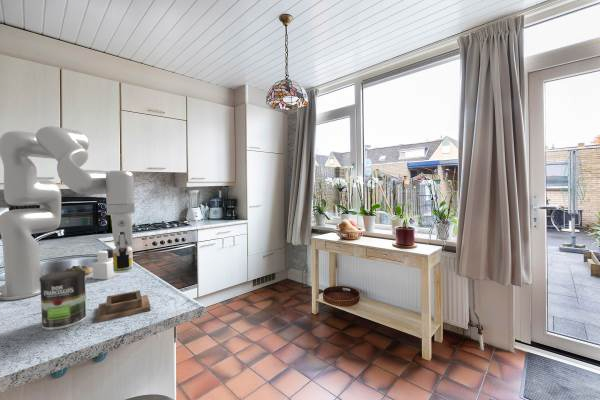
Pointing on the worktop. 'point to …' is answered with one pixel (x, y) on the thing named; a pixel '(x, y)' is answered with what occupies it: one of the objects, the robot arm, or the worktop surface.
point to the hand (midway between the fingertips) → (123, 264)
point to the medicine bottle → (104, 265)
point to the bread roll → (86, 269)
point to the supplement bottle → (116, 270)
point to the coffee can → (63, 299)
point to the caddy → (123, 305)
